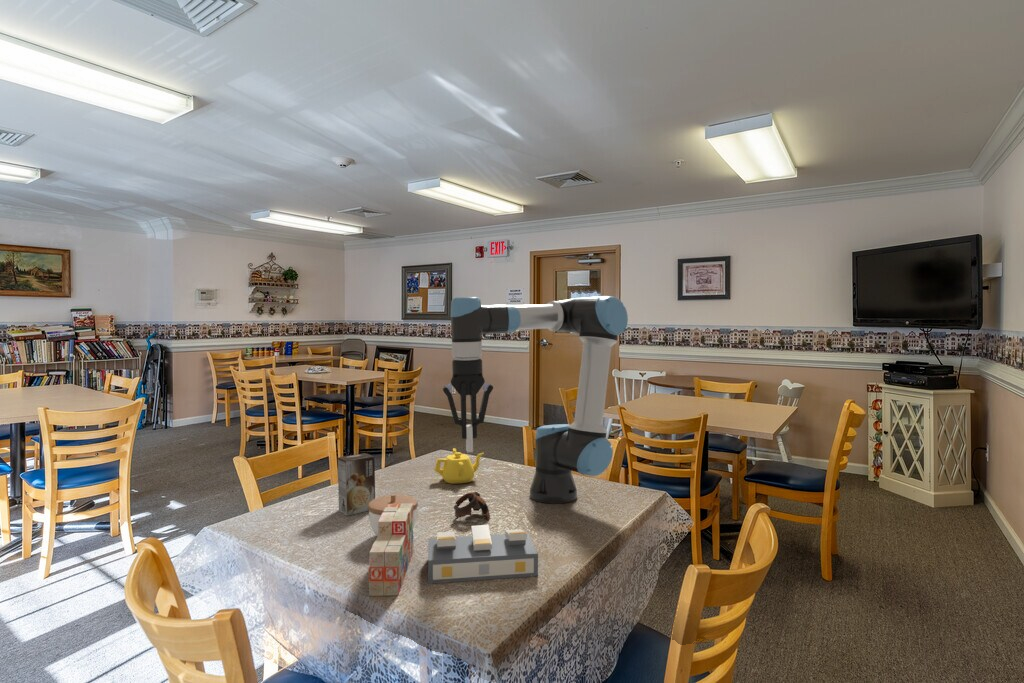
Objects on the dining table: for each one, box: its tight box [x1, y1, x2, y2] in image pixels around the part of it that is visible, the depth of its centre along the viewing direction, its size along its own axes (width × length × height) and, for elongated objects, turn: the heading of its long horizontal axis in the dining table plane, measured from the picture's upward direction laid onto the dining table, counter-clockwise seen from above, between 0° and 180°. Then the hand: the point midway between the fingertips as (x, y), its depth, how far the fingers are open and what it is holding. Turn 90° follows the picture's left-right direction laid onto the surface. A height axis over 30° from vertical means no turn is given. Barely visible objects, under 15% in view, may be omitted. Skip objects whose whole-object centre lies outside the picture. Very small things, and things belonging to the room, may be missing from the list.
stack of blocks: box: [368, 503, 415, 597], centre depth 120 cm, size 21×6×12 cm, turn 3°
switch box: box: [427, 532, 539, 584], centre depth 123 cm, size 24×12×6 cm, turn 99°
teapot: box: [434, 447, 485, 485], centre depth 191 cm, size 14×13×10 cm
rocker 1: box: [436, 531, 456, 547], centre depth 121 cm, size 4×7×2 cm, turn 9°
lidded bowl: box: [368, 493, 419, 537], centre depth 140 cm, size 13×13×11 cm
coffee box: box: [337, 452, 376, 517], centre depth 160 cm, size 9×6×16 cm
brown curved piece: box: [453, 491, 491, 521], centre depth 155 cm, size 12×10×8 cm
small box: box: [504, 528, 528, 541], centre depth 124 cm, size 4×7×2 cm, turn 9°
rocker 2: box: [470, 524, 492, 551], centre depth 122 cm, size 4×7×2 cm, turn 9°
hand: (469, 450), depth 137 cm, fingers closed
